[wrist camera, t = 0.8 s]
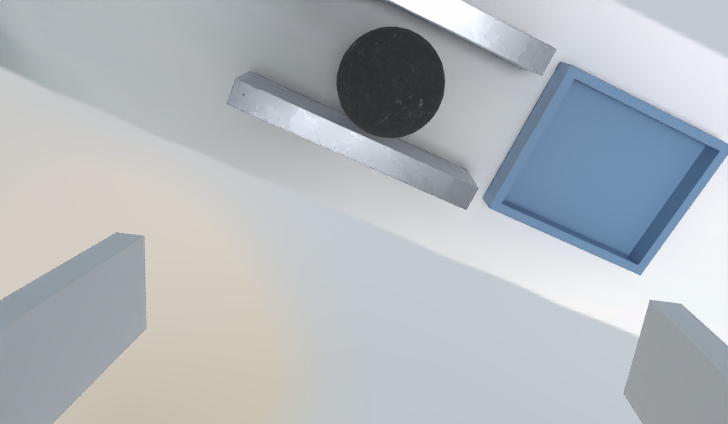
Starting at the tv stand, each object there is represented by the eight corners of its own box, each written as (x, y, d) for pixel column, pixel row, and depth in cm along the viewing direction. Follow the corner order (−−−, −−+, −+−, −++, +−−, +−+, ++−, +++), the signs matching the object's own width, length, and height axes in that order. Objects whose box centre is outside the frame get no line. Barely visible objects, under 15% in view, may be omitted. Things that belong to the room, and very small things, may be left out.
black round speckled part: (441, 39, 33) (470, 49, 24) (413, 123, 35) (430, 163, 26) (356, 12, 33) (352, 12, 23) (332, 99, 35) (320, 131, 25)
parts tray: (482, 198, 37) (488, 207, 35) (560, 62, 34) (571, 65, 32) (627, 262, 39) (640, 275, 37) (714, 139, 35) (733, 146, 34)
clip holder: (241, 94, 35) (226, 103, 31) (302, -73, 31) (293, -84, 27) (456, 189, 37) (466, 209, 33) (535, 44, 33) (556, 48, 30)
